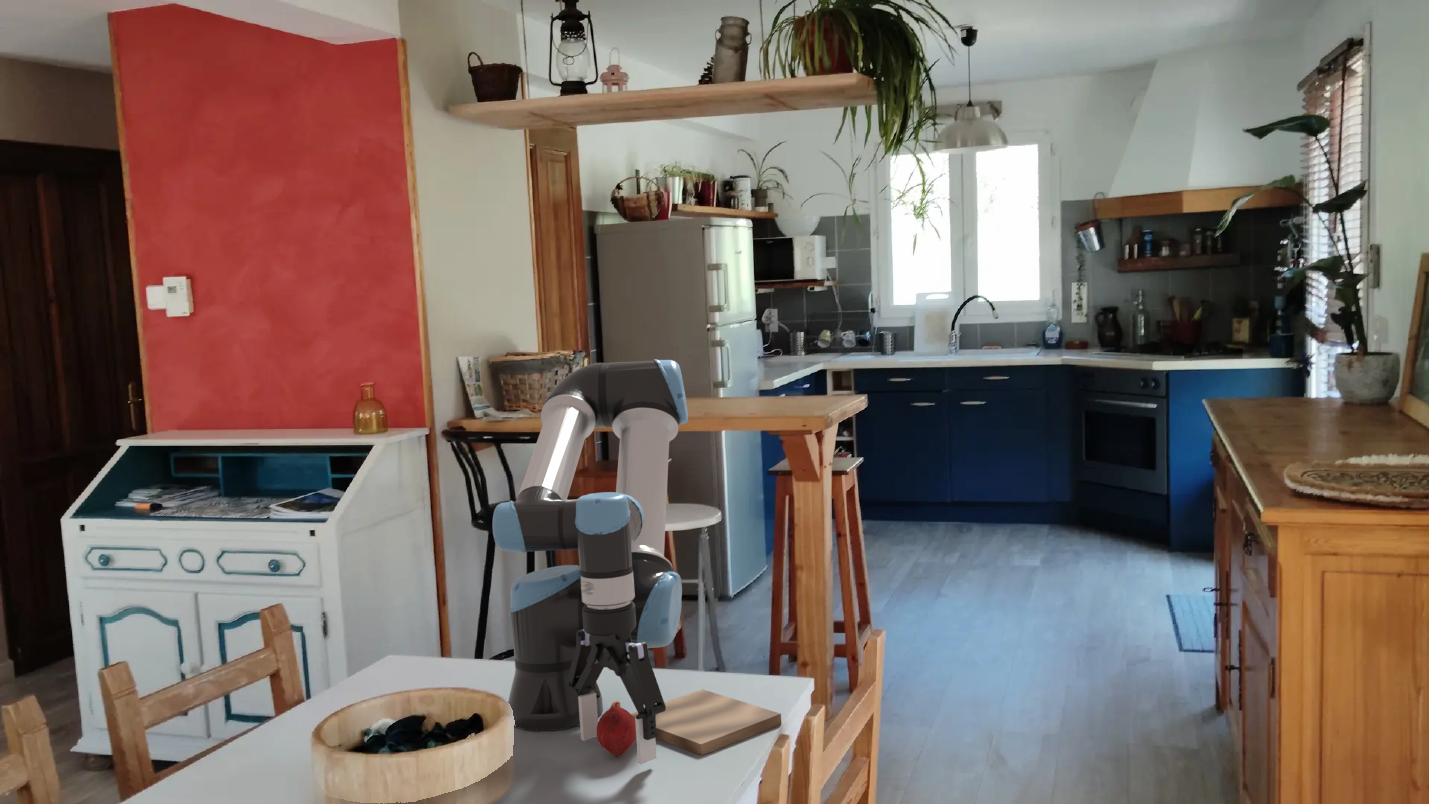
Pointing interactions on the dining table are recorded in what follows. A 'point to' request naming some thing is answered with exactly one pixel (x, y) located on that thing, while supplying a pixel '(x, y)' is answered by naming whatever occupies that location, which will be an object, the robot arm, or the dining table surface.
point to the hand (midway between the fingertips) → (617, 749)
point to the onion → (616, 730)
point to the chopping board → (710, 721)
